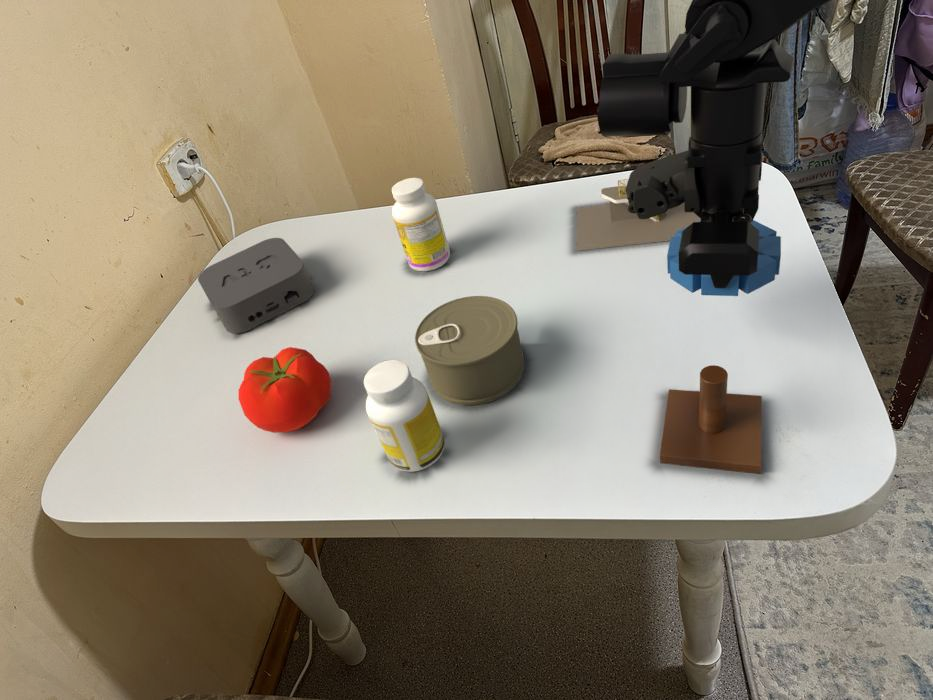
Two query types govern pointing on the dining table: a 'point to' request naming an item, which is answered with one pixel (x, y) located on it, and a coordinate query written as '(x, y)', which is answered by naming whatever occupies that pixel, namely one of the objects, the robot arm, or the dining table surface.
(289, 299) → the streaming box
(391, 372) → the pill bottle
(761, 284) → the blue ring
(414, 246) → the supplement bottle
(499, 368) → the can
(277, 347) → the dining table surface
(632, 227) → the platform
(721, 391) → the peg stand
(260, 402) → the tomato
